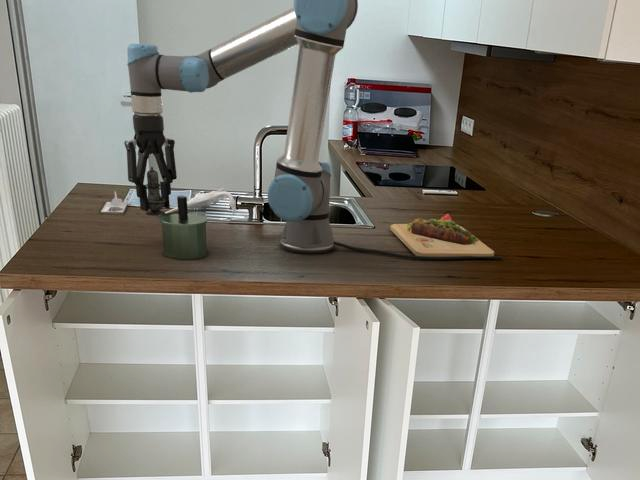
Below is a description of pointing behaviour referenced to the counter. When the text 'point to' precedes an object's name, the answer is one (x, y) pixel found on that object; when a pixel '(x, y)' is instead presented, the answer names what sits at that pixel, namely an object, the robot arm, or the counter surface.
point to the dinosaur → (209, 200)
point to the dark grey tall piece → (154, 195)
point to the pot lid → (182, 216)
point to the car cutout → (114, 206)
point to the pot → (184, 241)
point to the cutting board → (439, 238)
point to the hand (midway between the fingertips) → (155, 208)
